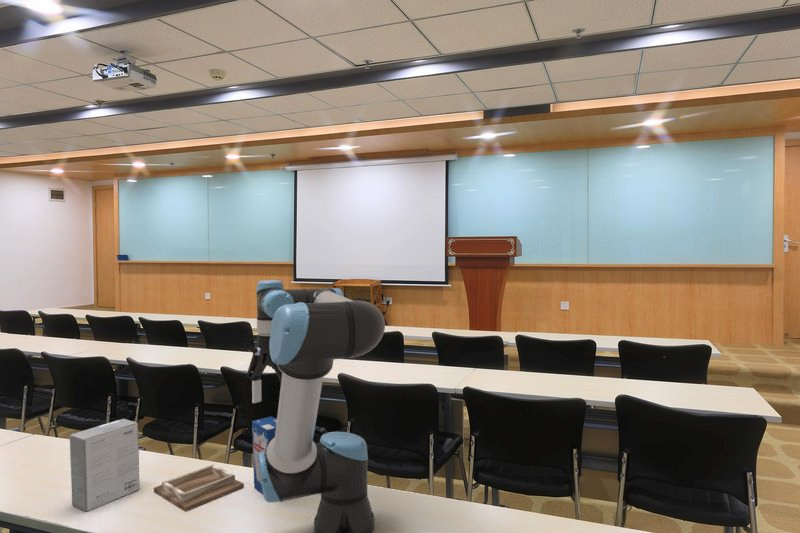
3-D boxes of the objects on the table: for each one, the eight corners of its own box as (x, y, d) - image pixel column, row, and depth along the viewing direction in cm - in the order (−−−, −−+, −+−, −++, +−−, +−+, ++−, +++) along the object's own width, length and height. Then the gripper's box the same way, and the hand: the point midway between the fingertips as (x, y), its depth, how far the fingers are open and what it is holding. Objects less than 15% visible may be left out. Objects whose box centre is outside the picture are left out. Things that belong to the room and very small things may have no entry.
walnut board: (243, 487, 150) (243, 476, 150) (185, 511, 136) (185, 499, 136) (210, 471, 161) (210, 461, 161) (153, 491, 147) (153, 480, 147)
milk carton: (289, 492, 146) (287, 424, 145) (269, 500, 142) (267, 430, 141) (273, 481, 153) (271, 416, 153) (254, 488, 149) (251, 421, 148)
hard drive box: (125, 483, 152) (124, 418, 152) (140, 489, 148) (139, 422, 148) (70, 505, 139) (69, 433, 138) (85, 513, 135) (84, 438, 135)
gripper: (309, 336, 142) (309, 411, 142) (255, 328, 157) (256, 395, 158) (287, 340, 136) (287, 418, 137) (234, 331, 152) (235, 401, 152)
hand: (270, 406), depth 147 cm, fingers open, 13 cm apart
